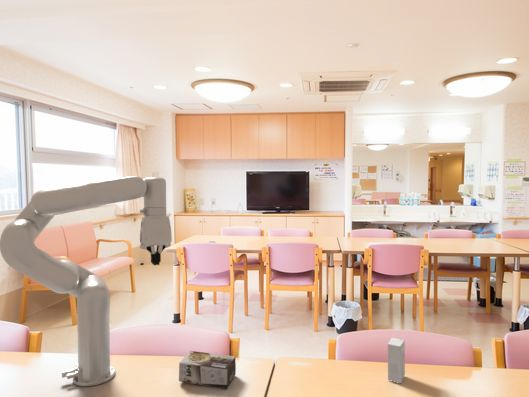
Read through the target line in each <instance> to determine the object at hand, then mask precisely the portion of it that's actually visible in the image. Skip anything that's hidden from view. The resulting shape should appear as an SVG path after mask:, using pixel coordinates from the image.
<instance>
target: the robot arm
mask: <svg viewBox="0 0 529 397" xmlns="http://www.w3.org/2000/svg"><path fill="white" fill-rule="evenodd" d="M141 198H143V207H142V208H143V209H140V210H139V214H141V215H143V216H142V218H141V222H140V230H139V231H140V232H139V243H140V244H139V249H140V250H146V251H148V252H149V253H150V262H151V264H152V265H153V266H160V263H161V262H162V261H161V260H162V256H161V254H162V252H163V251H164V250H165V249H167V248H169V247H171V245H172V244H171V243H172V228H171V220H170V216H169V215H167V181H166V179H165V178H163V177H157V176H156V177H154V176H153V177H150V176H149V177H146V178H142V177H140V176H138V175H131V176H125V177H120V178H112V179H108V180H100V181H87V182H81V183H74V184H70V185H69V184H68V185H64V186H63V185H62V186H57V187H51V188H45V189H44V188H43V189H40V190H38V191H36V192H34V193H33V195H32V196H31V198H30V201H29V202H28V204H27V205H26V206H25V207H24V208H23V209H22V211H21V212H20V213H19V214H18V215H17V217H16V218H15V219H14V220H12V221H11V222H10V223H9V224H7V225H6V226H5V227H4V228H3V230H2V231H1V234H0V255H1V257H2V259H3V260H4V262H5V263H6V264H7V265H9V267H11V268H12V269H13V270H15V271H16V272H18V273H20V274H22V275H24V276H25V277H26V278H27V277H28V278H29V279H30V280H31V281H34V282H36V283H38V284H39V285H41V286H43V287H45V288H47V289H49V290H50V291H52V292H54V293H56V294H61V295H62V294H63V295H65V294H69V295H70V296H73V297H75V298H76V305H77V306H76V309H77V310H76V312H77V315H76V316H77V320H76V321H77V323H76V324H77V327H76V328H77V363H76V364H75V367H72V369H67V370H63V371H61V378H62V379H63V378H66V379H67V380H70V379H72V383H73V384H74V385H76V386H78V387H93V386H97V385H100V384H104V383H106V382H108V381H110V380H112V378H113V377H115V374H116V369H115V367H114V366H112V365H111V342H110V341H111V340H110V339H111V338H110V337H111V334H110V330H111V329H110V328H111V327H110V312H111V311H110V309H111V294H110V289H109V287H108V285H107V284H106V281H105V280H104V279H103V278H102V277H101V276H98V275H97V274H96V273H94V272H92V271H90V270H89V269H87V268H85V267H83V266H82V265H79V263H76V262H74V261H71V260H70V259H58V258H56V257H54V256H52V255H51V254H49V253H48V252H46V251H44V250H41V249H40V248H39V247H37V245H36V243H35V241H36V239H37V238H38V237H39V236H40V234H41V233H42V232H43V231H44V229H45V228H46V227H47V226H48V225H49V224H50V223H51V220H52V219H53V218H54V217H55V216H58V215H64V214H69V213H74V212H77V211H85V210H88V209H94V208H95V209H96V208H98V207H101V206H106V205H110V204H117V203H121V202H125V201H126V202H127V201H131V200H132V201H133V200H137V199H141ZM155 246H156V247H155ZM155 248H156V249H155Z"/></svg>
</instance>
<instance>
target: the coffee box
mask: <svg viewBox="0 0 529 397" xmlns="http://www.w3.org/2000/svg"><path fill="white" fill-rule="evenodd" d="M236 358H237V357H236V356H233V355H225V354H217V353H211V352H202V351H195V350H194V351H193V350H190V351H189V352H188V353H187V354H186V355H185V356H184V358H182V359H181V361H180V362H179V363H178V364H179V365H178V381H179V382H181V383H187V384H192V385H193V384H194V385H199V386H206V387H210V388H211V387H212V388H218V389H226V390H228V389H229V387H230V384H231V383H232V381H233V380H234V378H235V376H236V371H237V370H236V369H237V368H236V367H237V365H236Z"/></svg>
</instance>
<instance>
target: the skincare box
mask: <svg viewBox="0 0 529 397" xmlns="http://www.w3.org/2000/svg"><path fill="white" fill-rule="evenodd" d="M405 354H406V353H405V339H401V338H395V337H390V340H389V341H388V343H387V381H388V380H392V381H395V382H398V383H397V384H399V383H401V384H402V383H403V382H404V379H405V376H406V374H405V372H406V371H405V370H406V368H405V367H406V363H405V362H406V359H405V357H406V355H405ZM404 375H405V376H404ZM403 378H404V379H403ZM395 382H394V383H395Z"/></svg>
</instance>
